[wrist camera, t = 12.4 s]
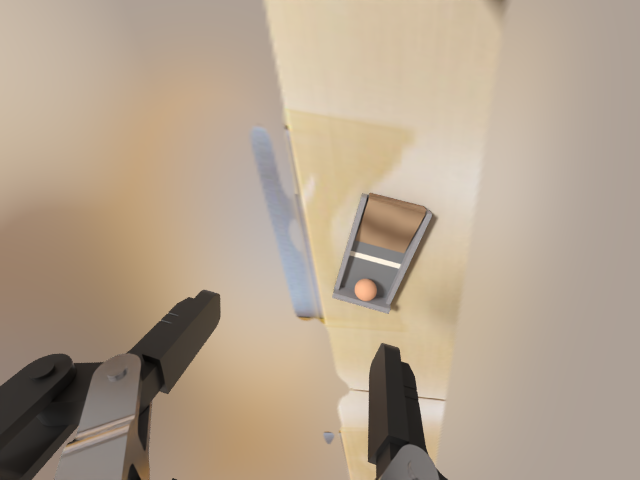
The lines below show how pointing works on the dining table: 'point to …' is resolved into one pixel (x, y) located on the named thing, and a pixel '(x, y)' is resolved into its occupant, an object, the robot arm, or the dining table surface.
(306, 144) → the dining table surface
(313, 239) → the dining table surface
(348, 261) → the lane
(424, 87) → the dining table surface
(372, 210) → the ramp
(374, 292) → the ball
